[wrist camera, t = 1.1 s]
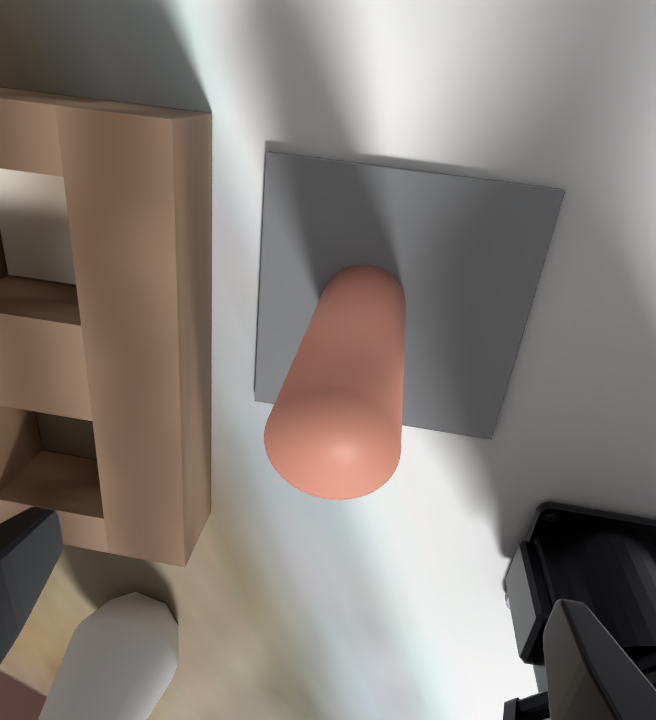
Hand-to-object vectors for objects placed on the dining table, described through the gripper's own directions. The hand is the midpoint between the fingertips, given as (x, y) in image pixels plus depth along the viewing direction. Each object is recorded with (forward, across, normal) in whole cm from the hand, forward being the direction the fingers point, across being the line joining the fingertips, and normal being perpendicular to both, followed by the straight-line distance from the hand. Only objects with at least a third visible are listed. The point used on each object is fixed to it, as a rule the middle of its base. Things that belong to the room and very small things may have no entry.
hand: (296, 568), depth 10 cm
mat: (+13, -1, 0) cm, 13 cm away
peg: (+12, 0, 0) cm, 13 cm away
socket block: (+13, +12, +3) cm, 18 cm away
